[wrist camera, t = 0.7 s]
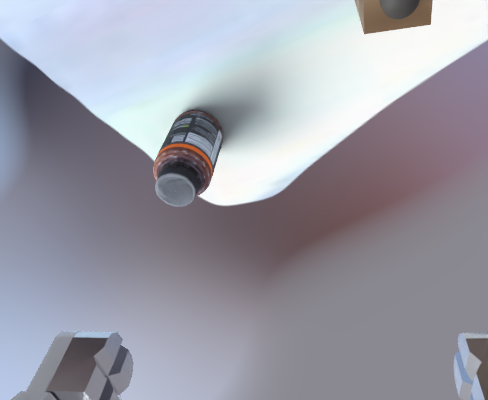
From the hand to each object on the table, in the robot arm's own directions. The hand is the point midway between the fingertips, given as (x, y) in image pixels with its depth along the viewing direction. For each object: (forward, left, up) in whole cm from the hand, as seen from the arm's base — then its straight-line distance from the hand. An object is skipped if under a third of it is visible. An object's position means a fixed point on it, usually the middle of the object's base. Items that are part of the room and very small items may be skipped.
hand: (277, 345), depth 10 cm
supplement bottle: (+14, -13, -37) cm, 42 cm away
